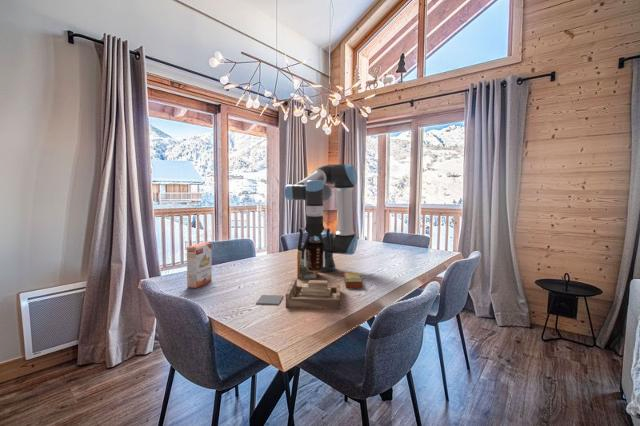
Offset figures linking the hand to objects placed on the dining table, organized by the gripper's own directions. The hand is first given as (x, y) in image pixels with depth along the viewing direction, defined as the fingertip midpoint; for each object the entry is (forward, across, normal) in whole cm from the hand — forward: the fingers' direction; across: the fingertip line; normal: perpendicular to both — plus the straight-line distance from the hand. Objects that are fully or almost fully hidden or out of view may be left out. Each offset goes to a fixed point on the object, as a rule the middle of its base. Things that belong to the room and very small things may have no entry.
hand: (314, 266), depth 136 cm
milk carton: (+17, -7, +38) cm, 42 cm away
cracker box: (+16, -62, +19) cm, 67 cm away
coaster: (+16, -20, -1) cm, 26 cm away
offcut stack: (+16, 0, +9) cm, 18 cm away
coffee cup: (+2, 0, 0) cm, 2 cm away
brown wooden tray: (+16, 0, +3) cm, 16 cm away
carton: (+17, +18, +26) cm, 36 cm away
